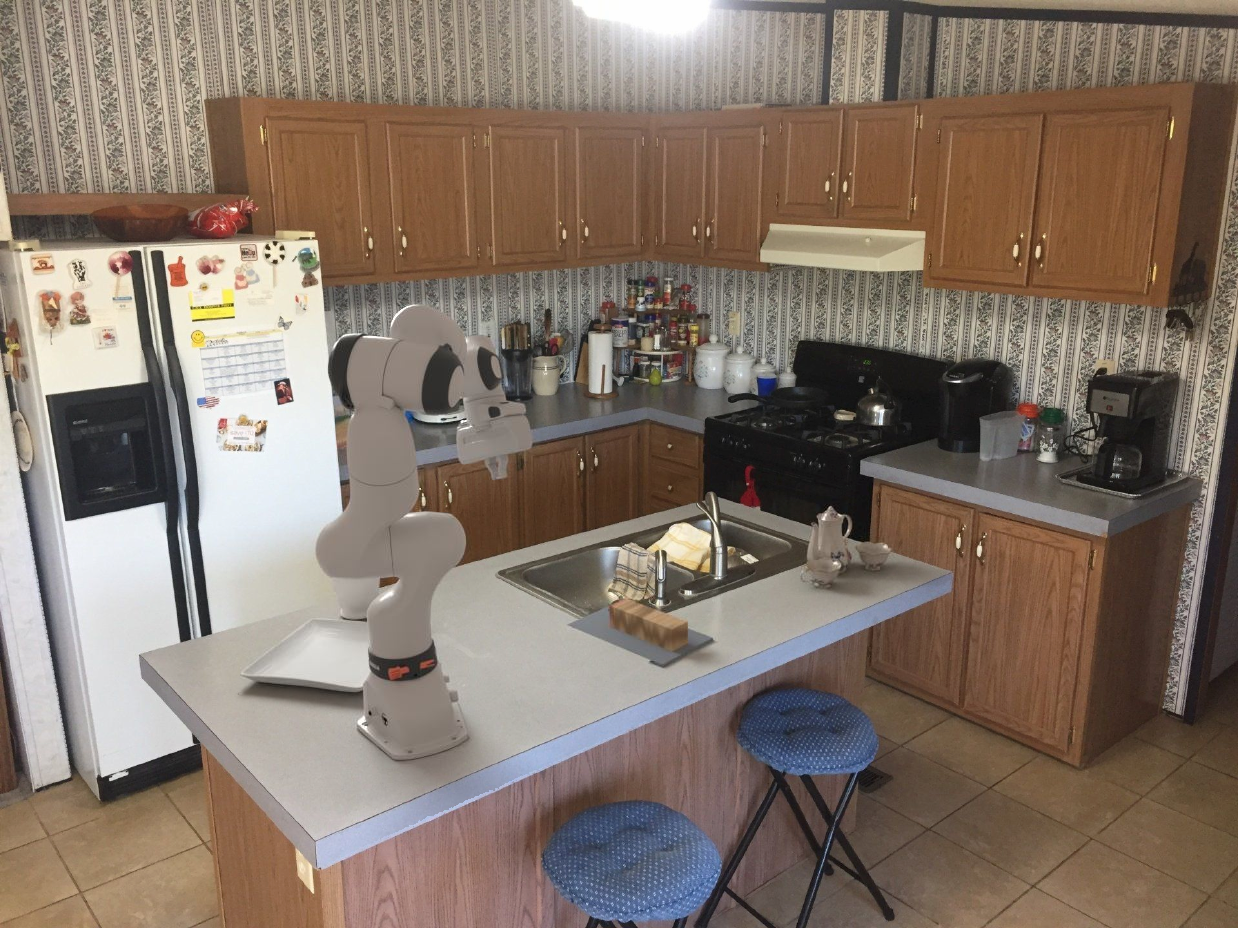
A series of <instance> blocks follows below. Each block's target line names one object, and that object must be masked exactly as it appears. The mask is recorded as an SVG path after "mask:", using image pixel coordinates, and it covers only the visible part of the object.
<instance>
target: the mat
mask: <svg viewBox="0 0 1238 928" xmlns="http://www.w3.org/2000/svg"><path fill="white" fill-rule="evenodd" d="M608 609H609V605H608V606H605V607H603V608H602V609H599V610H597V611H595V612H592V613H590V614H588V615H586V616H583V617H581V618H579V619H577V620H574V621H572V622H570V623H568V624H567V626H569V627H572V628H574V629H576V630H578V631H581V632H583V633H585V634H588V635H590V636H592V637H595V638H597V639H599V640H603V641H604V642H607V643H609V644H612V645H614V646H617V647H619V648H621V649H623V650H625V651H629V652H631V653H633V654H635V655H637V656H640V657H642V658H645V659H648V660H649V661H648V662H649V663H651V664H654V665H657V666H659V668H664V667H665V666H668V665H669V664H671V663H673V662H675V661H677V660H679V659H681V658H683V657H685V656H687V655H688V654H691V653H692V652H694V651H695V650H696V651H697V650H698V649H700V648H701V647H703V646H705V645H707V644H709V643H711V642H713V641H714V638H713V637H711V636H709V635H708V634H707V635H706V634H703V633H701V632H698V631H696V630H693V629H690V628H688V644H686V645H684V646H682V647H680V648H678V649H676V650H674V651H669V650H667V649H664V648H662V647H659V646H657V645H654V644H652V643H649V642H647V641H644V640H642V639H639V638H637V637H635V636H632V635H630V634H627V633H625V632H622V631H620V630H617V629H615V628H612V627H610V615H609V611H608Z"/></svg>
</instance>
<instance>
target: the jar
mask: <svg viewBox="0 0 1238 928" xmlns="http://www.w3.org/2000/svg"><path fill="white" fill-rule="evenodd" d="M331 582H332V583H331V584H332V588H333V591H334V594H335V598H336V601H337V603H338V605H339V607H340V608H341V609H340V611H339V612H340V613H339V614H340V616H341V617H342V618H344V619H345V620H351V621H357V620H363V619H367V611H368V608H369V606H370V604H371V603H372V601H373V600H374V599H375V598H376V597H377V596H379V595H380V584H381V583H380V582H381V578H376V579H367V580H344V579H334V578H331Z"/></svg>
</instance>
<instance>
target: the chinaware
mask: <svg viewBox="0 0 1238 928" xmlns="http://www.w3.org/2000/svg"><path fill="white" fill-rule="evenodd" d="M816 518H817V519H818V520H817V521H818V524H817V523H816V522H814V521H813V522H811V523H810V524H811V526H812V532H811V537H810V540H809V543H808V546H807V554H806V563H805V564H804V569H802V571H801V572H800V575H799V577H800V580H801V581H802V582H803V583H808V582H810V584H811V585H815V587H817V588H819V589H827V588H830V587H832V585H830V584H831V583H833V582H834V581H835V580H836V578H837V577H838V576H839V575H840V574H843V573H845V572H846V571H847V566H848V565H849V564H850V563H851V561H852V559H853V557H852V553H851V552H850V550H849V549H848V547H847V546H846V545H848V543H849V540H848V539H847V538H848V537H849V536H850V534H851V532H852V528H853V521H852V518H851V516H849V515H847V514H840V513H838V512H837V511H836V510H835V509H834V508H833V506H832V505H830V506H829V507H828V508H827V510H825V511H823V512H822V513H818V514H817V515H816ZM845 518H846V519H847V521H848V525H847V530H846V532H845V534H844V536H843V533H842V531H843V529H842V528H843V527H842V526H843V525H842V524H843V523H844V519H845ZM855 550H857V552H858V555H859V558H860V560H861V562H862V564H864V565H865V569H866V570H868V571H872V572H873V571H880V570H881V566H883V565H884V564H886V562H887V560H888V558H889V555H890V554H891V553H892V552H893V550H894V549H893V548H892V547H889V545H888V544H887V543H884V542H877V543H873V542H871V541H863V542H861V544H860V545H855ZM804 572H805V573H808V575H809V578H810V579H807V580H804V579H803V578H802V575H803V573H804Z"/></svg>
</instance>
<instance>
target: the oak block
mask: <svg viewBox="0 0 1238 928" xmlns="http://www.w3.org/2000/svg"><path fill="white" fill-rule="evenodd" d="M608 606H609V615H610V627H612V628H615V629H617V630H620V631H622V632H625V633H627V634H630V635H632V636H635V637H637V638H639V639H642V640H644V641H647V642H649V643H652V644H654V645H657V646H659V647H662V648H664V649H667V650H669V651H674V650H676V649H678V648H680V647H682V646H684V645H686V644H688V629H689V628H688V627H689V621H688V620H685V619H683V618H679V617H677V616H674V615H672V614H669V613H666V612H663V611H660V610H658V609H655V608H653V607H650V606H648V605H644V604H641V603H638V602H637V601H633V600H631V599H628V598H623V599H620V600H618V601H616V602H614V603H612V604H609V605H608Z"/></svg>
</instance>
